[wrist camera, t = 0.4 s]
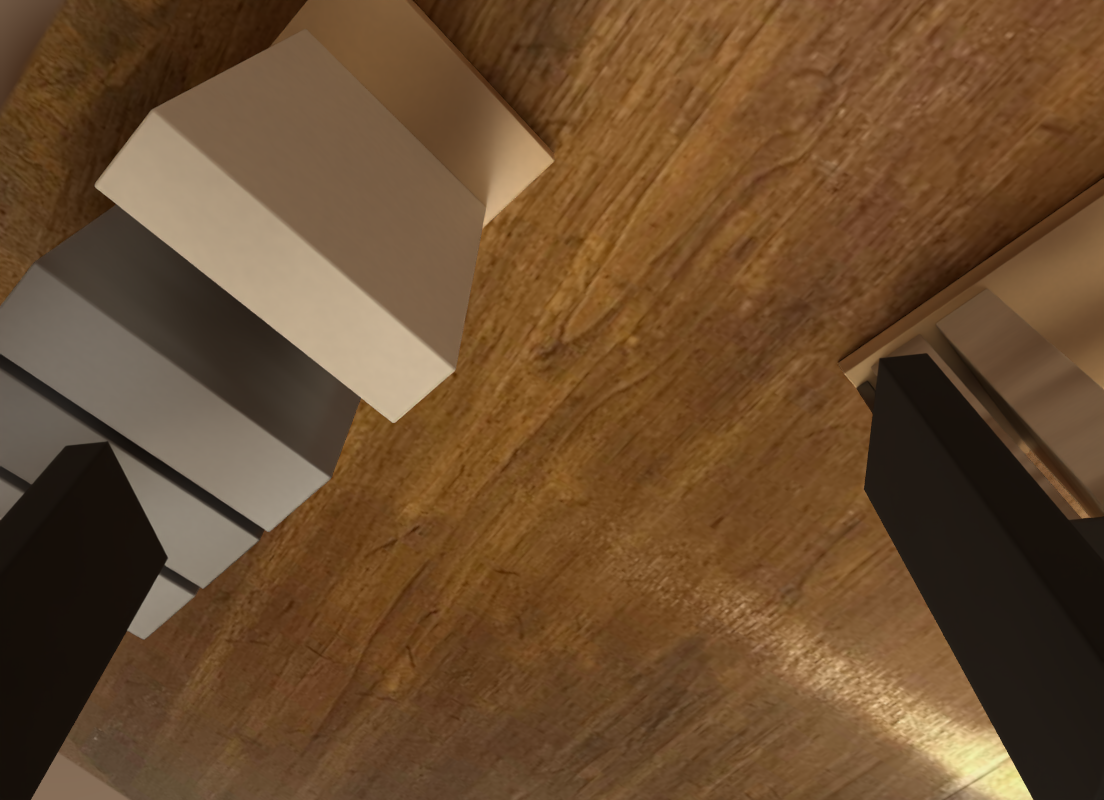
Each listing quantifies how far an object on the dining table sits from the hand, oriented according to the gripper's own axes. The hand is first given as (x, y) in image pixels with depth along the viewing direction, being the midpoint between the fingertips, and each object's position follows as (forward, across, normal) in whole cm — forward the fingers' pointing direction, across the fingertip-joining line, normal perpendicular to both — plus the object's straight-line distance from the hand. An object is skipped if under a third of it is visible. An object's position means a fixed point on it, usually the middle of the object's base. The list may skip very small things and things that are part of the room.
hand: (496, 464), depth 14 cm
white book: (+20, -5, +1) cm, 21 cm away
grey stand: (+21, -9, -2) cm, 23 cm away
